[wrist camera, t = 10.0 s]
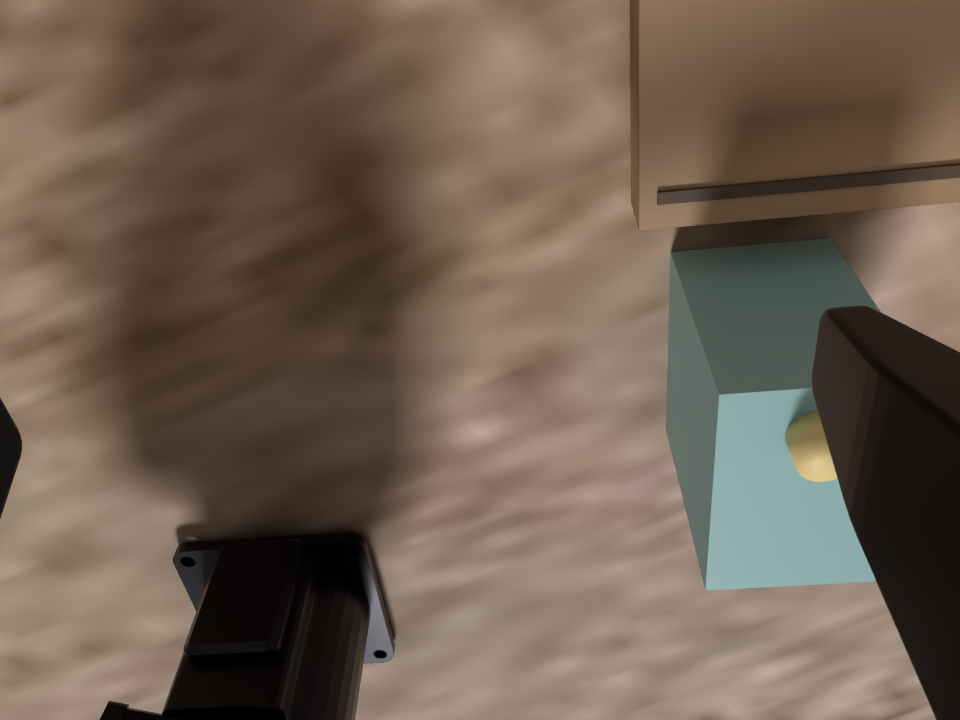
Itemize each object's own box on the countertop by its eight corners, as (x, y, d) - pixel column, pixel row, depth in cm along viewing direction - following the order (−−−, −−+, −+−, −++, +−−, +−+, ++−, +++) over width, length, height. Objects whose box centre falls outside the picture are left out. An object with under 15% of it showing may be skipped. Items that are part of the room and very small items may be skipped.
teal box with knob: (803, 419, 25) (889, 609, 19) (665, 428, 25) (712, 618, 20) (829, 237, 21) (944, 405, 16) (670, 250, 22) (728, 419, 16)
